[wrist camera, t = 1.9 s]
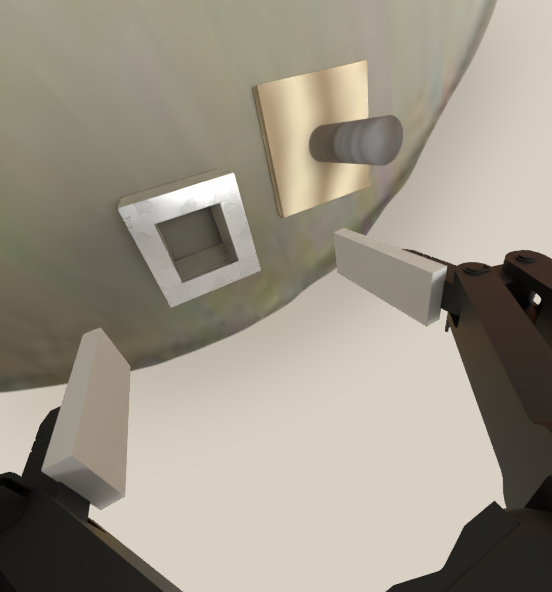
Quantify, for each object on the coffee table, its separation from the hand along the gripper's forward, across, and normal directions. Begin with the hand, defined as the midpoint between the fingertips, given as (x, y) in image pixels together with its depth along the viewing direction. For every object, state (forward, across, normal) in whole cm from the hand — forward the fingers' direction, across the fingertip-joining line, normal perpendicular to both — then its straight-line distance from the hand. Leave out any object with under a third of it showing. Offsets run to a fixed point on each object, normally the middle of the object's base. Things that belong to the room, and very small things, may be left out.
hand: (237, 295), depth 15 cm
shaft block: (+16, +16, +4) cm, 23 cm away
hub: (+16, 0, 0) cm, 16 cm away
